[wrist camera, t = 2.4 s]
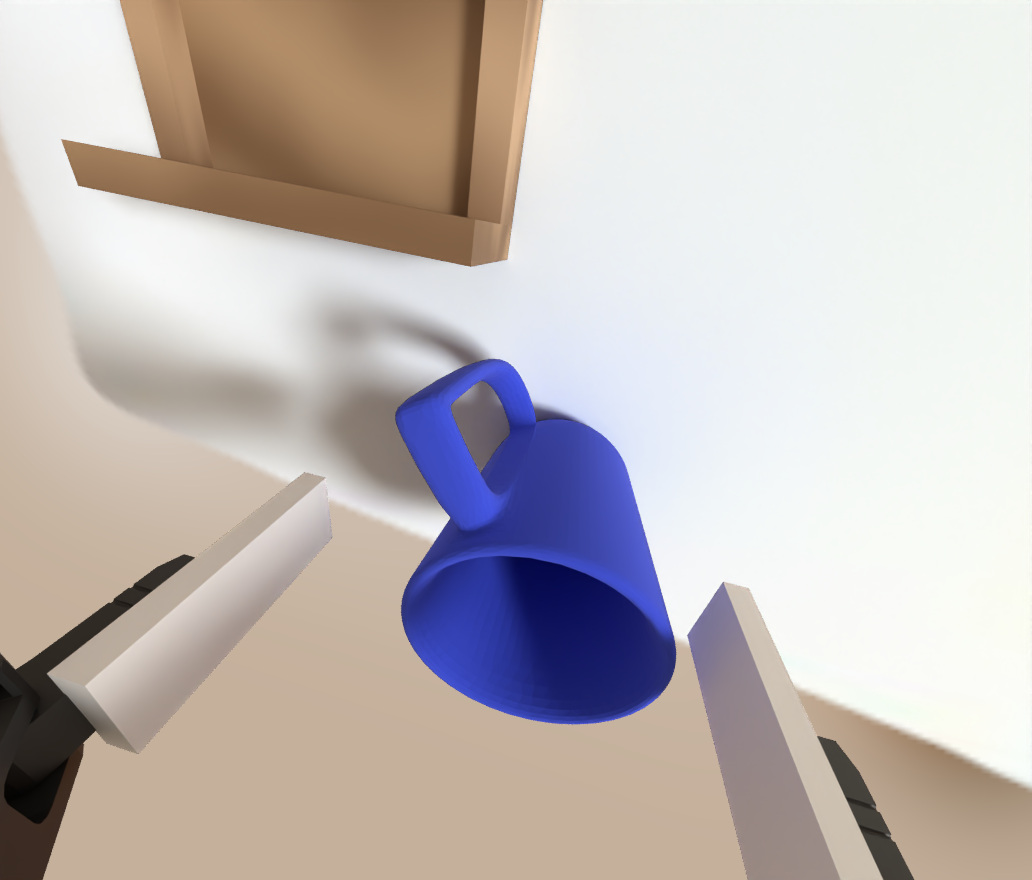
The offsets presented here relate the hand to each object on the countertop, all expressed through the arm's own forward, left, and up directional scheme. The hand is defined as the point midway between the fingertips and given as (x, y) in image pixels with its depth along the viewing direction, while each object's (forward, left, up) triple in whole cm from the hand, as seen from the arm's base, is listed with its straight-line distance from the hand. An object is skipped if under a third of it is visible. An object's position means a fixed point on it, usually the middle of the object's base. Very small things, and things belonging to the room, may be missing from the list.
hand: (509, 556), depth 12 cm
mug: (0, 0, -8) cm, 8 cm away
